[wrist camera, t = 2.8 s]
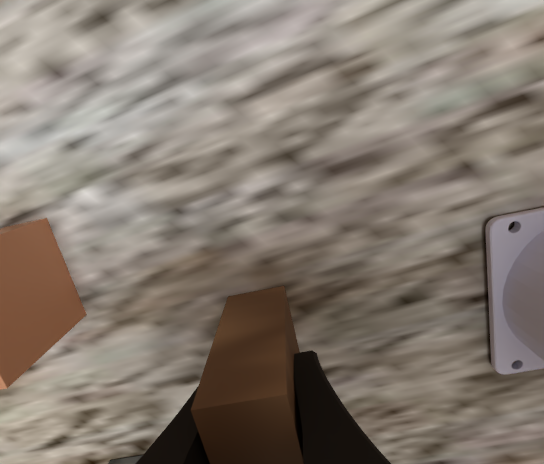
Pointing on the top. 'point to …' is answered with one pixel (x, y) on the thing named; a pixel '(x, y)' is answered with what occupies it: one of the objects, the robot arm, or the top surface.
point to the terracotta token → (32, 297)
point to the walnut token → (251, 384)
